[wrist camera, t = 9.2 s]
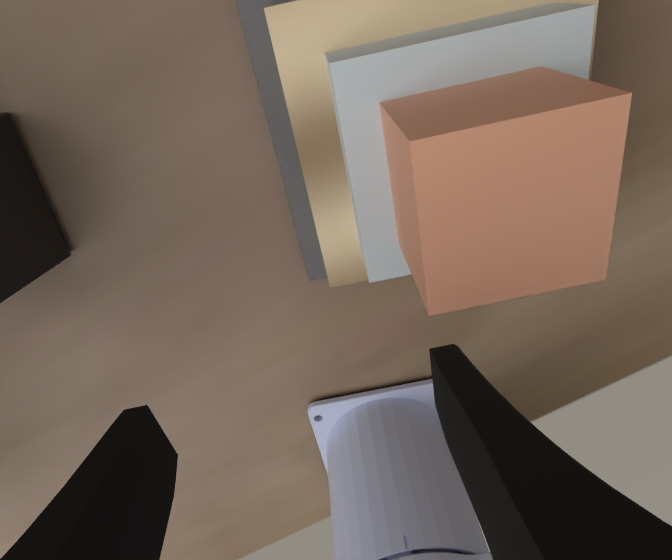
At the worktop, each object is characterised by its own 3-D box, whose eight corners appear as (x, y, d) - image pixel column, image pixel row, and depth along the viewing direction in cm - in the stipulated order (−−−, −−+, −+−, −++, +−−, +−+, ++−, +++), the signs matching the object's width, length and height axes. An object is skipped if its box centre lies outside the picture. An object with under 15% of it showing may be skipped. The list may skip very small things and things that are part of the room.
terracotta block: (535, 215, 15) (606, 279, 12) (398, 243, 15) (428, 316, 12) (540, 66, 13) (632, 92, 9) (378, 102, 13) (409, 141, 9)
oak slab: (546, 213, 21) (575, 238, 18) (326, 258, 21) (330, 288, 19) (562, -61, 15) (605, -70, 13) (268, 6, 16) (263, 8, 14)
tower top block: (539, 211, 18) (572, 241, 16) (360, 248, 18) (369, 282, 16) (550, 2, 14) (595, 4, 12) (324, 52, 14) (329, 62, 12)
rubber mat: (561, 223, 22) (567, 228, 21) (309, 275, 22) (309, 281, 22) (587, -104, 15) (595, -106, 15) (231, -22, 16) (229, -22, 15)
